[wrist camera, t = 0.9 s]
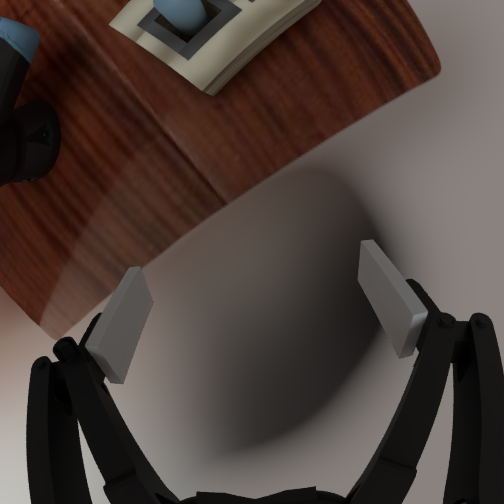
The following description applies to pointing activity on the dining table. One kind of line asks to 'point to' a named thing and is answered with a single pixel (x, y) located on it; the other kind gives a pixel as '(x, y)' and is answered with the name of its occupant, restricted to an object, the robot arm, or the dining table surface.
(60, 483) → the robot arm
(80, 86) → the dining table surface
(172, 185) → the dining table surface
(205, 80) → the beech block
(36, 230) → the dining table surface
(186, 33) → the dowel
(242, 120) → the dining table surface
